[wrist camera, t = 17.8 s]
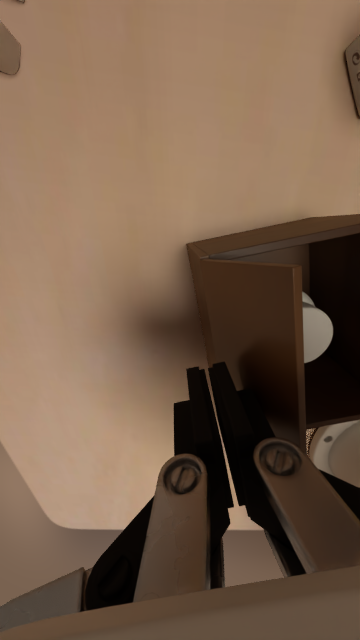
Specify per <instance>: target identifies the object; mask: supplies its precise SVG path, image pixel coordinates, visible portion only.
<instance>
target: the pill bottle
mask: <svg viewBox="0 0 360 640" xmlns="http://www.w3.org/2000/svg"><path fill="white" fill-rule="evenodd" d="M302 302H303V339H304V363H307V362H310V361H312V360H314V359H316V358H317V357H319V356H320V355H321V354H322V353H323V352H324V351H325V350H326V349H327V348H328V346H329V344H330V342H331V340H332V336H333V326H332V323H331V320H330V318H329V317H328V316H327V315H326V314H325V313H324V312H323V311H321V310H320V309H318V308H316V307H315V305H314V303H313V301H312V300H311V298H310V297H309V296H308V295H307V294H305V293H304V292H302Z"/></svg>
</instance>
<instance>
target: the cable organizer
mask: <svg viewBox="0 0 360 640" xmlns="http://www.w3.org/2000/svg"><path fill="white" fill-rule="evenodd" d="M19 1H21V2H24V0H19ZM20 49H21V45H20V44H19V42H18V41H17V40H16V39H15V38H14V36H13V35H12V34H11V33H10V31H9V30H8V29H7V28H6V27H5V25H4V24H3V23H2V22H1V20H0V71H1V72H4V73H7V74H14V73H16V72H17V71H18V69H19V62H20Z"/></svg>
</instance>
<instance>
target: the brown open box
mask: <svg viewBox="0 0 360 640" xmlns="http://www.w3.org/2000/svg"><path fill="white" fill-rule="evenodd" d="M186 245H187V250H188V256H189V261H190V267H191V272H192V278H193V283H194V289H195V294H196V300H197V305H198V311H199V316H200V322H201V327H202V333H203V338H204V344H205V349H206V355H207V360H208V364H209V368H211V367H213V366H212V364H214V363H217V362H216V356H215V350H214V344H213V338H212V332H211V327H210V321H209V315H208V309H207V303H206V297H205V291H204V285H203V279H202V273H201V267H200V260H203V259H213V260H229V261H245V262H261V263H277V264H293V265H301V266H302V292H304V293H305V294H307V295H308V296H309V297H310V298H311V300H312V301H313V303H314V305H315V307H316V308H318V309H320V310H321V311H323V312H324V313H325V314H326V315H327V316H328V317H329V318H330V320H331V323H332V326H333V336H332V340H331V342H330V344H329V346H328V348H327V349H326V350H325V351H324V352H323V353H322V354H321V355H320V356H319V357H317V358H316V359H314V360H312V361H310V362H307V363H304V377H305V414H306V430H307V429H312V428H317V427H323V426H328V425H334V424H339V423H345V422H350V421H356V420H360V214H355V215H340V216H326V217H312V218H306V219H302V220H297V221H292V222H287V223H283V224H278V225H273V226H268V227H264V228H259V229H254V230H249V231H245V232H240V233H235V234H230V235H226V236H221V237H216V238H211V239H206V240H202V241H197V242H192V243H187V244H186Z"/></svg>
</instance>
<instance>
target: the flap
mask: <svg viewBox="0 0 360 640" xmlns="http://www.w3.org/2000/svg"><path fill="white" fill-rule="evenodd" d="M200 267H201V273H202V279H203V285H204V291H205V297H206V303H207V309H208V315H209V321H210V327H211V332H212V338H213V344H214V350H215V356H216V362H217V363H219V362H224V361H225V363H226V365H227V368H228V370H229V373H230V375H231V378H232V380H233V383H234V385H235V388H236V390H237V391H239V390H245V389H250V388H251V389H252V391H253V393H254V395H255V397H256V399H257V401H258V403H259V405H260V407H261V409H262V411H263V413H264V415H265V416H266V418H267V420H268V422H269V424H270V426H271V428H272V430H273V432H274V434H275V436H276V437H280V438H285V439H288V440H290V441H292V442H294V443H296V444H297V445H298V446H299V447H300V448H301V449H302V450H303V451H304V452H305V453H306V455H307V451H306V414H305V377H304V339H303V302H302V266H301V265H293V264H277V263H261V262H245V261H229V260H213V259H203V260H200Z"/></svg>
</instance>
